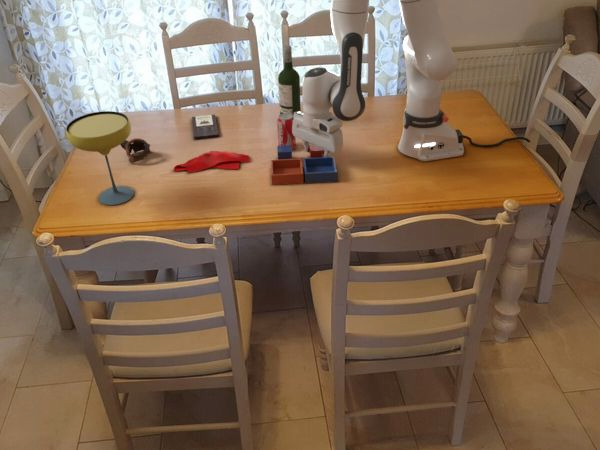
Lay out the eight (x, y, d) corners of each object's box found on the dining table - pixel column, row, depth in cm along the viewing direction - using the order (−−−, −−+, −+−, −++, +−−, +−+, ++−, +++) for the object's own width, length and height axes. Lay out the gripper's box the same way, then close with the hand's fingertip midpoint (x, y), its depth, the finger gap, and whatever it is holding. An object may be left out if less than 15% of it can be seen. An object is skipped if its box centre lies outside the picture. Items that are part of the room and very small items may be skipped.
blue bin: (333, 165, 189) (333, 156, 187) (336, 181, 181) (337, 172, 179) (303, 167, 189) (303, 158, 187) (305, 183, 181) (305, 173, 179)
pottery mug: (158, 152, 201) (154, 140, 194) (146, 174, 198) (141, 162, 190) (128, 141, 203) (123, 128, 195) (115, 162, 199) (109, 150, 191)
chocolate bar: (194, 137, 207) (191, 117, 222) (194, 139, 208) (192, 119, 222) (218, 134, 208) (214, 114, 223) (218, 136, 209) (215, 116, 223)
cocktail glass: (145, 207, 172) (128, 133, 157) (84, 216, 169) (61, 141, 155) (145, 178, 186) (130, 107, 172) (89, 185, 184) (68, 114, 169)
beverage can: (293, 151, 198) (292, 120, 191) (276, 150, 199) (274, 119, 192) (297, 143, 203) (296, 112, 196) (280, 142, 204) (278, 111, 197)
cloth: (250, 150, 200) (249, 144, 199) (250, 169, 189) (249, 163, 187) (177, 154, 199) (176, 149, 198) (172, 174, 188) (171, 168, 186)
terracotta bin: (301, 167, 189) (301, 158, 187) (303, 183, 181) (303, 173, 179) (271, 168, 189) (271, 159, 187) (271, 184, 180) (271, 175, 178)
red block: (323, 155, 195) (323, 143, 192) (324, 162, 191) (324, 150, 188) (309, 156, 195) (309, 144, 192) (310, 163, 191) (310, 150, 188)
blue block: (291, 157, 195) (291, 145, 192) (292, 164, 191) (291, 151, 188) (278, 158, 195) (277, 145, 192) (278, 164, 191) (277, 152, 188)
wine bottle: (276, 125, 215) (272, 47, 198) (287, 117, 221) (284, 41, 203) (294, 129, 212) (290, 51, 194) (304, 121, 217) (302, 44, 200)
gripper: (287, 112, 188) (288, 149, 196) (333, 130, 176) (333, 168, 184) (300, 106, 192) (301, 142, 200) (346, 123, 180) (345, 161, 188)
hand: (316, 155), depth 192 cm, fingers closed on red block, 7 cm apart
